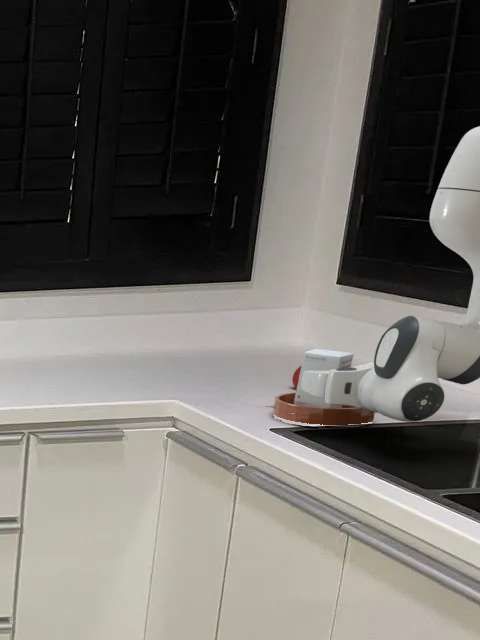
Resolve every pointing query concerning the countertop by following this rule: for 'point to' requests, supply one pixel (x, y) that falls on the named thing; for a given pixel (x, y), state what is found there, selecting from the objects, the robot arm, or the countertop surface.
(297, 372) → the onion
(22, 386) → the countertop surface
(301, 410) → the bowl
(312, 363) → the white packaging box
